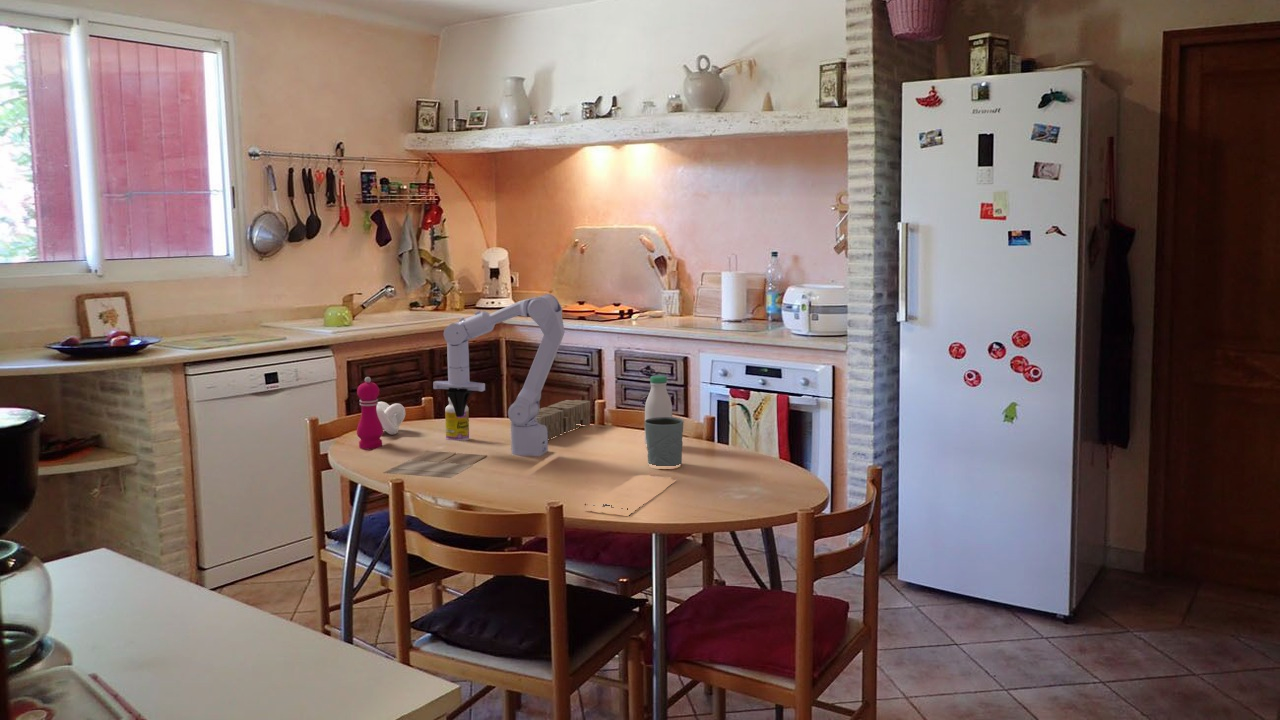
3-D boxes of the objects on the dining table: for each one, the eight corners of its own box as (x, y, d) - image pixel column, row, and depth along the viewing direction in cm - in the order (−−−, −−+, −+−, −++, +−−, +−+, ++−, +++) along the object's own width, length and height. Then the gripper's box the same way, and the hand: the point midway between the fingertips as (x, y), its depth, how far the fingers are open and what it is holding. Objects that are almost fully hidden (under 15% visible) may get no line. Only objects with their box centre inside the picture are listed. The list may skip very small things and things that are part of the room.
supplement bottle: (457, 444, 293) (455, 399, 291) (441, 440, 297) (439, 397, 295) (474, 439, 298) (473, 396, 296) (458, 436, 302) (457, 393, 300)
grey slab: (473, 468, 265) (473, 464, 265) (450, 481, 253) (450, 477, 253) (409, 463, 271) (408, 460, 270) (383, 476, 258) (383, 472, 258)
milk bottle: (672, 449, 285) (672, 378, 282) (644, 449, 285) (644, 378, 282) (672, 443, 292) (672, 374, 289) (645, 443, 293) (644, 374, 290)
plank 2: (486, 458, 274) (486, 455, 274) (472, 468, 266) (471, 464, 266) (457, 456, 277) (457, 453, 277) (442, 466, 268) (442, 462, 268)
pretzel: (355, 436, 304) (354, 406, 302) (377, 427, 315) (376, 398, 314) (389, 438, 300) (388, 408, 299) (410, 429, 312) (409, 400, 310)
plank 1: (456, 456, 277) (456, 452, 277) (440, 465, 268) (440, 462, 268) (427, 454, 279) (427, 450, 279) (411, 463, 271) (411, 460, 271)
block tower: (568, 425, 322) (517, 442, 296) (568, 399, 321) (517, 413, 295) (590, 427, 318) (540, 444, 292) (590, 400, 317) (540, 415, 291)
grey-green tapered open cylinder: (680, 471, 262) (680, 425, 260) (641, 469, 264) (640, 423, 262) (686, 461, 272) (686, 417, 270) (648, 460, 274) (648, 415, 272)
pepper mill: (387, 444, 293) (384, 374, 290) (378, 450, 286) (375, 379, 283) (362, 443, 294) (359, 374, 291) (353, 449, 287) (350, 378, 284)
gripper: (489, 365, 280) (490, 414, 282) (441, 363, 284) (442, 411, 286) (478, 369, 273) (479, 419, 275) (428, 367, 277) (430, 416, 279)
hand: (460, 416), depth 280 cm, fingers closed
